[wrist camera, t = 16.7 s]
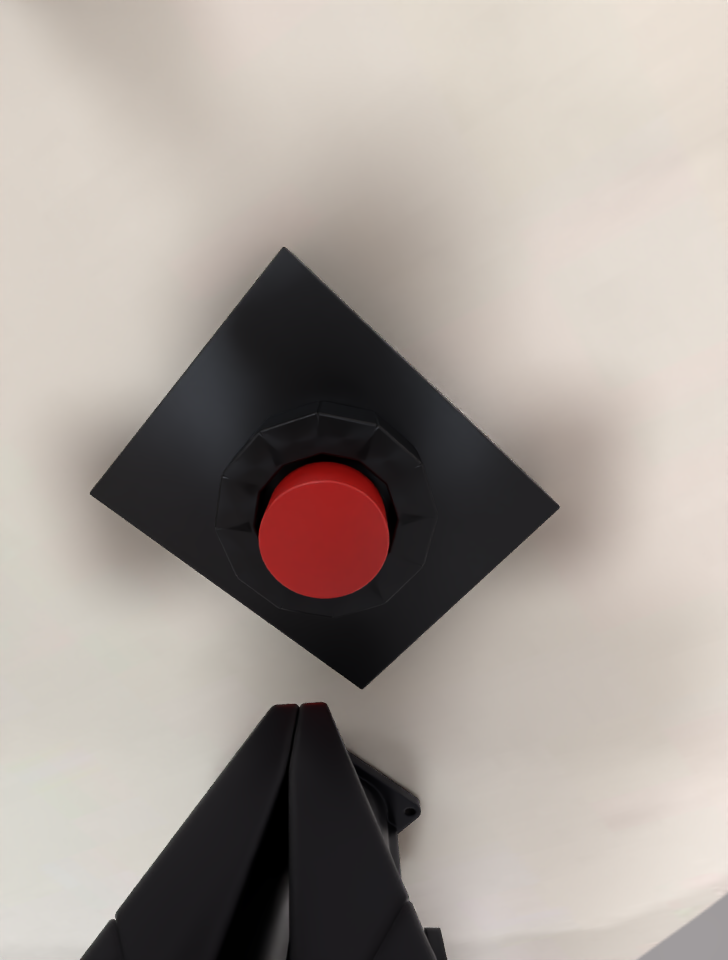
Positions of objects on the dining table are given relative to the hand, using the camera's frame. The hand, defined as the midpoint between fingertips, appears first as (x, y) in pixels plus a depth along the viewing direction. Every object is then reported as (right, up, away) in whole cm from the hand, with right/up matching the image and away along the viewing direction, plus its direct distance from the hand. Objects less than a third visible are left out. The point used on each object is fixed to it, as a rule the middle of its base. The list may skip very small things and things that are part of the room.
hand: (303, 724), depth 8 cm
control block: (0, +4, +11) cm, 11 cm away
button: (0, +3, +8) cm, 8 cm away
